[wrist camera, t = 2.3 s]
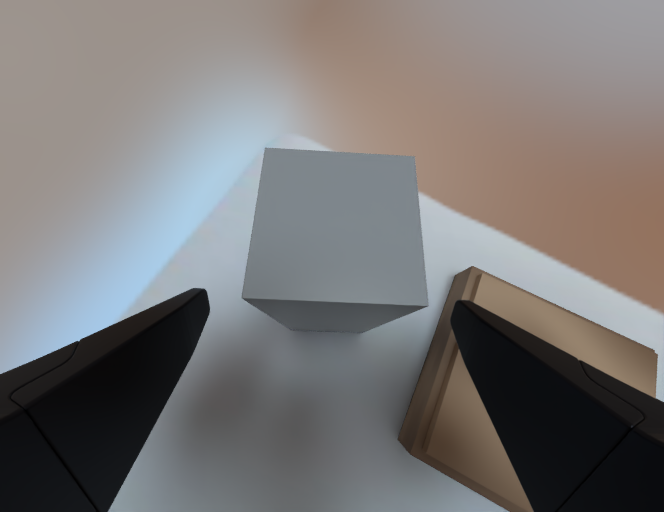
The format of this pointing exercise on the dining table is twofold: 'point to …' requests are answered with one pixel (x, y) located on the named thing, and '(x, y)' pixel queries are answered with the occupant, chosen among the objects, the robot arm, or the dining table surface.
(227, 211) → the dining table surface
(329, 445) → the dining table surface
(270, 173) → the block
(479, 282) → the walnut stand
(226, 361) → the dining table surface
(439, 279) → the dining table surface
